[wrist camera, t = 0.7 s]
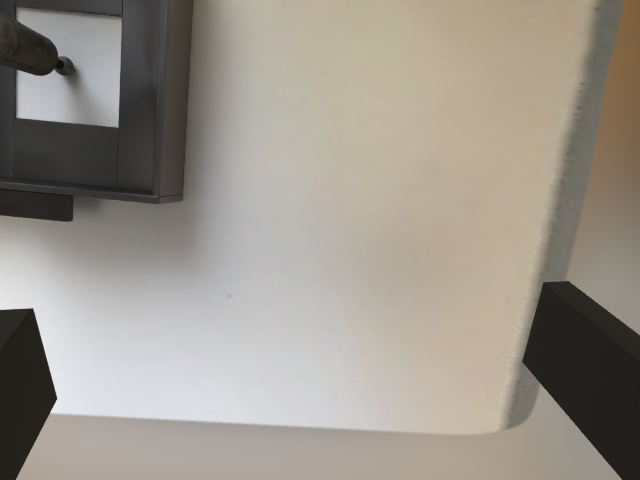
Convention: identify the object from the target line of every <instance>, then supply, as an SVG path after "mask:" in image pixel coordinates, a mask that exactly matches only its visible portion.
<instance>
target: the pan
mask: <svg viewBox="0 0 640 480" xmlns="http://www.w3.org/2000/svg"><path fill="white" fill-rule="evenodd" d="M15 6H17V7H28V8H39V9H50V10H60V11H71V12H82V13H93V14H104V15H115V16H122V41H121V71H120V102H119V128H115V127H105V126H94V125H83V124H73V123H62V122H52V121H41V120H31V119H20V118H15V69H14V68H10V67H7V66H4V65H0V215H3V216H13V217H23V218H34V219H44V220H54V221H65V222H68V221H73V196H80V197H91V198H101V199H111V200H122V201H132V202H142V203H153V204H162V203H169V202H176V201H182V196H183V195H182V194H183V178H184V159H185V140H186V121H187V102H188V83H189V65H190V46H191V27H192V8H193V0H0V12H1V13H3V14H5V15H6V16H8V17H10V18H12V19H14V20H15Z"/></svg>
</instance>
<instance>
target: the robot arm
mask: <svg viewBox="0 0 640 480" xmlns="http://www.w3.org/2000/svg"><path fill="white" fill-rule="evenodd" d="M522 362H523V363H524V364H525V366H526V367H527V368H528V369H529V370H530V372H531V373H532V374H533V375H534V376H535V377H536V379H537V380H538V381H539V382H540V383H541V384H542V386H543V387H544V388H545V389H546V390H547V391H548V393H549V394H550V395H551V396H552V397H553V399H554V400H555V401H556V402H557V403H558V404H559V406H560V407H561V408H562V409H563V410H564V412H565V413H566V414H567V415H568V416H569V417H570V419H571V420H572V421H573V422H574V423H575V425H576V426H577V427H578V428H579V429H580V430H581V432H582V433H583V434H584V435H585V436H586V437H587V439H588V440H589V441H590V442H591V443H592V445H593V446H594V447H595V448H596V449H597V450H598V452H599V453H600V454H601V455H602V456H603V457H604V459H605V460H606V461H607V462H608V463H609V465H610V466H611V467H612V468H613V469H614V470H615V472H616V473H617V474H618V475H619V476H620V477H621V479H622V480H640V335H638V334H637V333H636V332H634V331H633V330H632V329H631V328H629V327H628V326H626V325H625V324H624V323H622V322H621V321H620V320H619V319H617V318H616V317H615V316H613V315H612V314H611V313H610V312H608V311H607V310H606V309H604V308H603V307H602V306H600V305H599V304H598V303H596V302H595V301H594V300H592V299H591V298H590V297H589V296H587V295H586V294H585V293H583V292H582V291H581V290H579V289H578V288H577V287H575V286H574V285H573V284H571V283H570V282H569V281H562V282H544V283H543V286H542V290H541V294H540V298H539V301H538V305H537V309H536V312H535V316H534V320H533V324H532V327H531V331H530V335H529V339H528V342H527V346H526V350H525V354H524V357H523V361H522ZM56 400H57V396H56V392H55V388H54V385H53V381H52V377H51V373H50V370H49V366H48V362H47V358H46V355H45V351H44V347H43V343H42V340H41V336H40V332H39V328H38V325H37V321H36V317H35V313H34V310H33V308H32V309H12V310H0V480H16V478H17V476H18V474H19V472H20V470H21V468H22V466H23V464H24V462H25V460H26V458H27V456H28V454H29V453H30V450H31V449H32V447H33V445H34V443H35V441H36V439H37V437H38V435H39V433H40V431H41V429H42V427H43V425H44V423H45V421H46V419H47V418H48V415H49V414H50V412H51V410H52V408H53V406H54V404H55V402H56Z"/></svg>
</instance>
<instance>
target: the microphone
mask: <svg viewBox="0 0 640 480" xmlns="http://www.w3.org/2000/svg"><path fill="white" fill-rule="evenodd" d="M0 65H4V66H7V67H10V68H14V69H17V70H20V71H24V72H27V73H30V74H34V75H37V76H43V75H47V74H49V73H51V72H52V71H53V70H54V69H55V71H56V72H57V73H59V74H60V75H64V76H67V75H70V74H71V73H72V72H73V70H74V65H73V63H72V61H71V60H70V59H68V58H67V57H63V56H61V57H58V52H57V49H56V47H55V45H54V44H53V43H52V41H50V40H49V39H48V38H46V37H44V36H42V35H41V34H39V33H37V32H35V31H33V30H32V29H30V28H28V27H26V26H24V25H23V24H21V23H19V22H17V21H15V20H14V19H12V18H10V17H8V16H6V15H5V14H3V13H1V12H0Z"/></svg>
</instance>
